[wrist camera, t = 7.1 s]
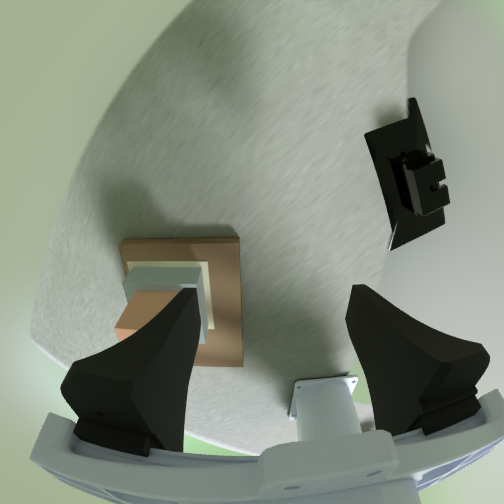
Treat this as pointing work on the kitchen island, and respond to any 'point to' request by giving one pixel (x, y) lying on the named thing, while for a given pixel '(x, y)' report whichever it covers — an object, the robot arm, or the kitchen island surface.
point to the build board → (215, 287)
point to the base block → (169, 285)
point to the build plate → (408, 177)
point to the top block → (141, 311)
